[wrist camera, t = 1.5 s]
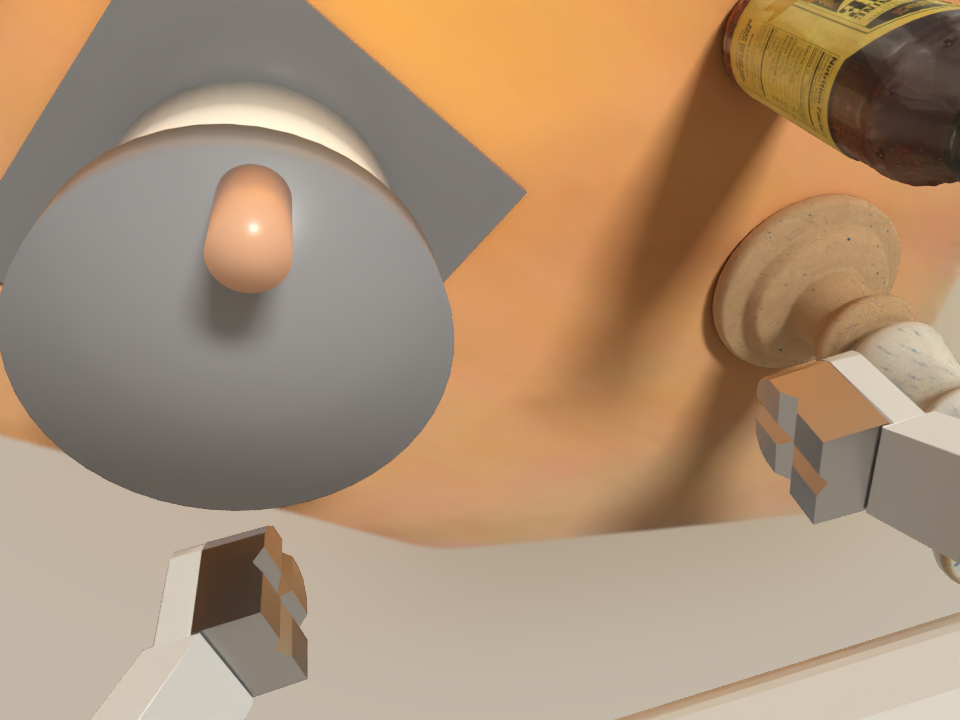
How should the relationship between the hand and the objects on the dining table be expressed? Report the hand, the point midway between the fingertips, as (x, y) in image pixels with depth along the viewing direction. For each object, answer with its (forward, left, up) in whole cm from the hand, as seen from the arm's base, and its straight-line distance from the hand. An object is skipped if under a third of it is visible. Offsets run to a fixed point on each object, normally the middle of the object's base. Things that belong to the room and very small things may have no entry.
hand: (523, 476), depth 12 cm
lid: (+1, -10, -18) cm, 21 cm away
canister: (+1, -10, -28) cm, 30 cm away
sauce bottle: (+15, +14, -28) cm, 34 cm away
